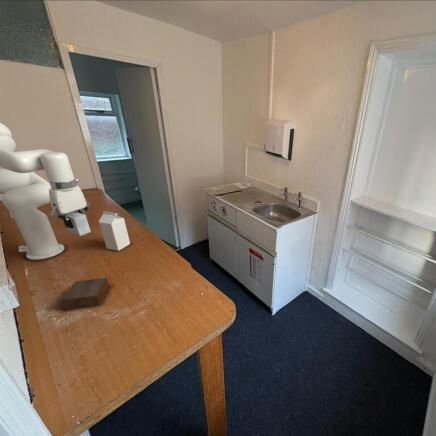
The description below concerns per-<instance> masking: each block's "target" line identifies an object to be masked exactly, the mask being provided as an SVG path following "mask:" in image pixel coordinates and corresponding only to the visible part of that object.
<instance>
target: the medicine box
mask: <svg viewBox="0 0 436 436" xmlns="http://www.w3.org/2000/svg"><path fill="white" fill-rule="evenodd" d="M69 219H70V220H71V221H72V224H73V228H68V227H66V226H65V227H66V228H65V229H66V231H67V233H69V234H73V235H75V236H79V237H82V236H84V235H85V236H86V235H88V234H89V233H91V232H92V231H91V228H90V224H89V221H88V218H87V214H85V215H84V214H81V213H78V211H73V212H69Z"/></svg>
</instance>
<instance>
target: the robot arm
mask: <svg viewBox="0 0 436 436" xmlns="http://www.w3.org/2000/svg"><path fill="white" fill-rule="evenodd" d="M16 148H17V144H16V141H15V140H14V139H13V134H12V131H11V129H9V127H8V126H6V125H5V124H3V123H1V122H0V195H1V196H0V199H1V200H0V201H1V203H2V204H3V205H4V207H5V209H7V210H8V212H9V214H10V215H11V216H12V218H13V219H14V222H15V224H16V226H17V228H18V230H19V232H20V234H21V236H22V238H23V240H24V243H25V245H19V246H18V252H19V253H24V252H25V253H26V254H25V256H26V258H27V259H28V260H31V261H39V260H45V259H49V258H53V257H54V256H57V255H59V254H61V253H62V252H63V251H65V246H64V244H62V243H59V242H58V240H57V238H56V235H55V233H54V230H53V227H52V225H51V223H50V220H49V218H48V216H47V214H46V213H44V212H43V211H41V210H39V209H38V208H39V207H42V206H45V205H48V204H50V206H51V209H52V210H51V212H50V217H51V218H57V219H61V220H62V221H63V224H64V226H65V227H68V228H73V224H72V221H71V220H70V219H69V212H73V211H74V212H77V213H81V214H84V215H87V211H89V210H88V209H89V208H90V207H91V205H92V204H91V203H90V202H89V201H87V200H86V197H85V196H84V193H83V191H82V189H81V188H80V186H79V185H77V183H79V179H78V178H75V175H74V172H73V169H72V167H71V163H70V159H69V157H68V155H67V154H66V153H64V152H61V151H53V150H50V149H45V148H43V149H42V148H41V149H40V148H39V149H29V150H20V151H15V150H16ZM38 171H44V173H45V175H46V178H47V180H46V179H44V178H43V177H41V176H40V175H39V174H37V173H35V172H38ZM58 213H59V214H58Z"/></svg>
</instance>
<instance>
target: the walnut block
mask: <svg viewBox="0 0 436 436" xmlns="http://www.w3.org/2000/svg"><path fill="white" fill-rule="evenodd" d="M109 289H110V283H109V281H108V278H107V277H101V278H91V279H84V280H83V279H82V280H76V281H74V283H73V284H72V285H71V286H70V287H69V288H68V290H67V292H66V293H65V294H64V295H63V297H62V298H61V300H60V302H61V304H62V306H63V308H64V310H65V311H67V310H75V309H82V308H89V307H94V306H100V305H101V303H102V301H103V299H104V298H105V296H106V294H107V292H108V291H109Z"/></svg>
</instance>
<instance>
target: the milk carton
mask: <svg viewBox="0 0 436 436" xmlns="http://www.w3.org/2000/svg"><path fill="white" fill-rule="evenodd" d="M102 213H103V214H102V215H101V217H100V218H99V220H98V225H99V228H100V232H101V235H102V238H103V243H104V244H105V248H106V249H107V250H113V251H117V252H119V251H121V250H123V249H124V248H127V247H128V246H130V245H131V241H130V237H129V234H128V229H127V225H126V221H125V218H124V217H122V216H119V215H118V213H116V212H111V211H106V210H103V211H102Z"/></svg>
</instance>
